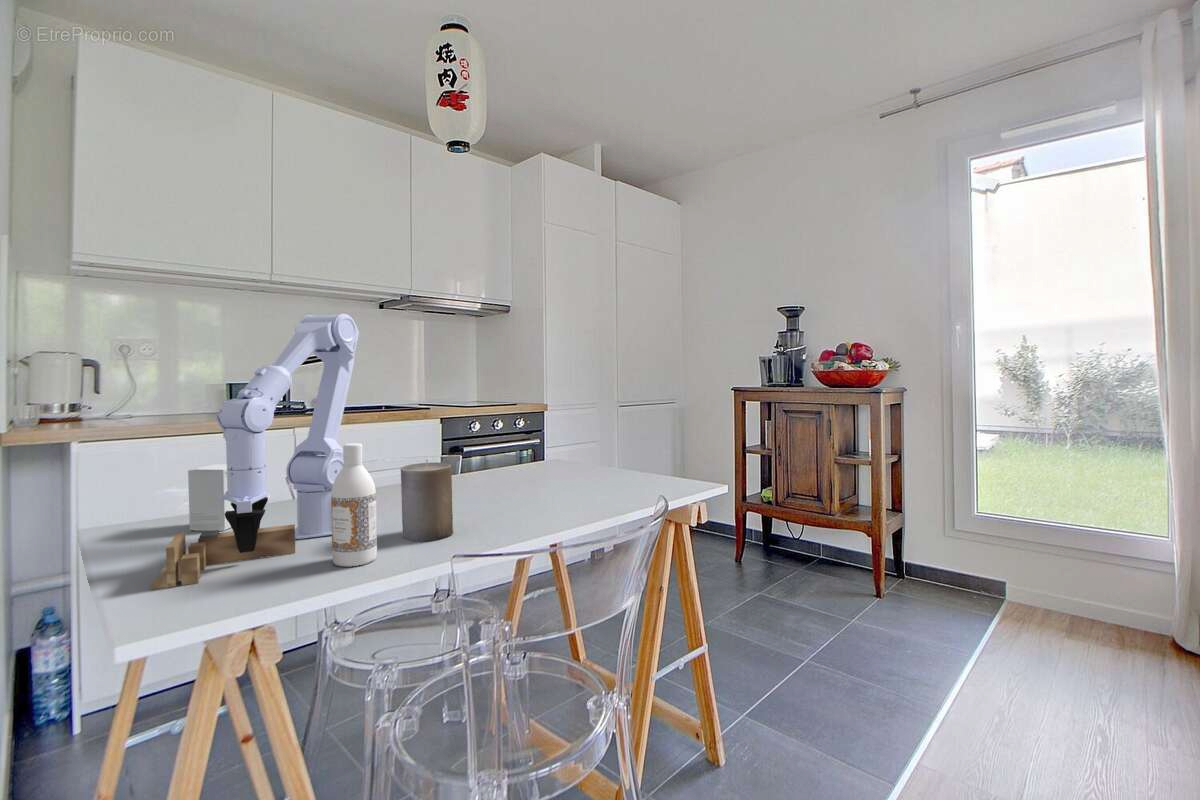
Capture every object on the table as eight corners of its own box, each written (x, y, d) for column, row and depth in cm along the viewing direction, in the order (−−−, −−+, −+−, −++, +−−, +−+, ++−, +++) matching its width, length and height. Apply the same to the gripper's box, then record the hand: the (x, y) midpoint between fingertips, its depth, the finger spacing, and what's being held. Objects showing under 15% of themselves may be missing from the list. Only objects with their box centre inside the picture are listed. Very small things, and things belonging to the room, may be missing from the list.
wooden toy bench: (206, 564, 93) (205, 529, 92) (197, 583, 85) (196, 544, 84) (164, 570, 90) (163, 534, 90) (151, 590, 82) (149, 549, 82)
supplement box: (224, 531, 113) (222, 469, 112) (188, 531, 113) (186, 469, 112) (248, 521, 120) (246, 463, 119) (214, 521, 120) (212, 463, 119)
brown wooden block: (295, 548, 101) (294, 521, 101) (295, 553, 99) (294, 525, 99) (201, 561, 95) (200, 532, 95) (198, 566, 92) (197, 536, 92)
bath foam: (323, 565, 93) (320, 445, 92) (353, 552, 99) (350, 441, 98) (357, 569, 90) (354, 447, 90) (385, 556, 97) (383, 442, 96)
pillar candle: (458, 527, 115) (456, 455, 115) (446, 541, 106) (444, 463, 105) (410, 528, 115) (408, 456, 114) (394, 542, 105) (392, 464, 105)
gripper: (223, 463, 101) (225, 537, 101) (213, 476, 88) (215, 561, 88) (269, 460, 104) (270, 532, 105) (265, 472, 91) (267, 554, 92)
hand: (248, 545), depth 97 cm, fingers open, 7 cm apart
